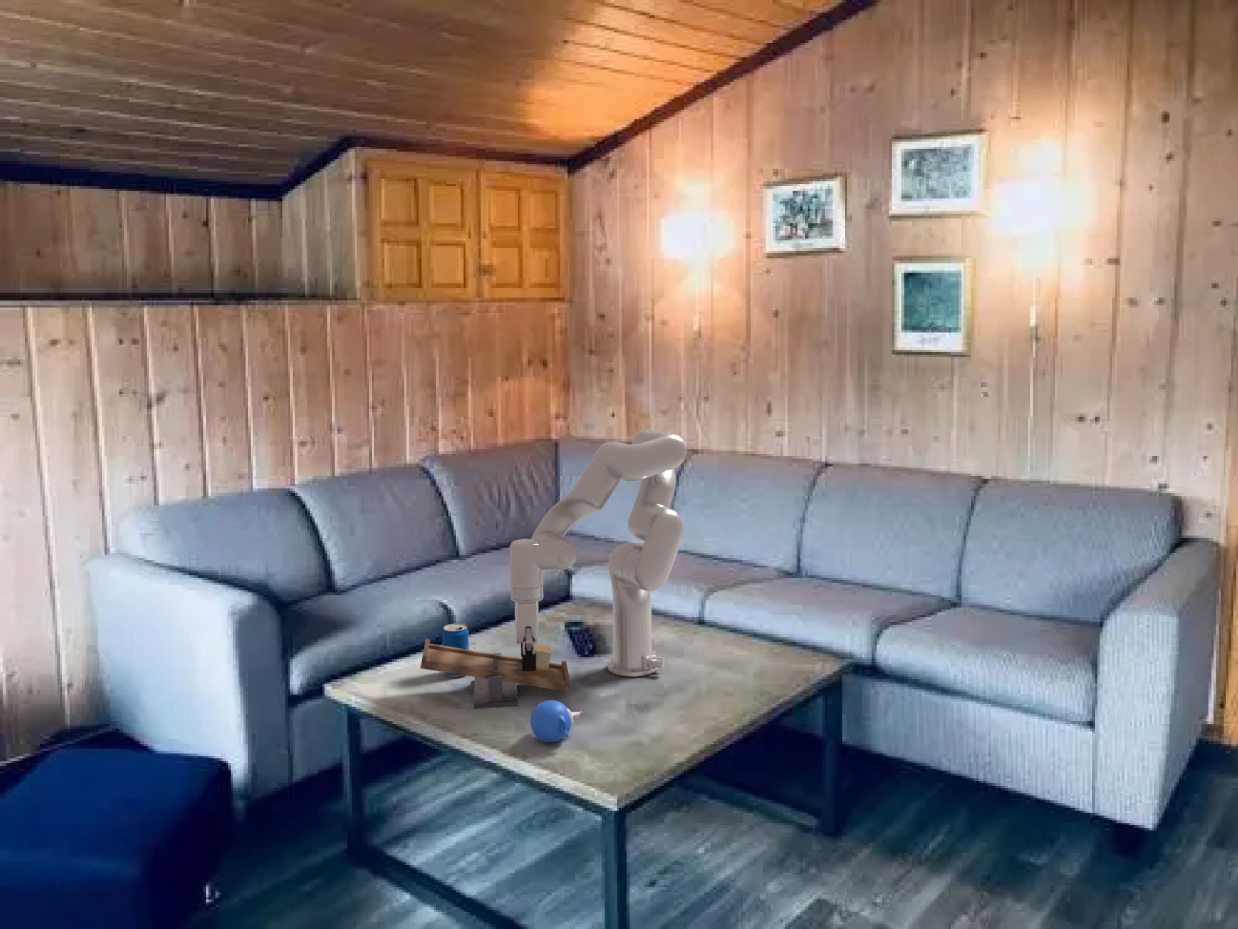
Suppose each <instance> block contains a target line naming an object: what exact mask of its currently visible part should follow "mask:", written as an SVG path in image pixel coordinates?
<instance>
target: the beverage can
mask: <svg viewBox="0 0 1238 929" xmlns="http://www.w3.org/2000/svg"><path fill="white" fill-rule="evenodd" d="M467 627H468V626H467V625H466V624H464V623H450V624H446V625H445V626H443V630H442V632H441V634H442V636H441V637H442V638H441V641H442V642H441V643H442V646H448V647H454V648H460V649H467V650H470V636H469V635H470V634H469V633H470V632H469V631H470V630H469V629H468V628H467ZM443 674H444V675H447V677H450V678H460V677H465V676H466V675H460V674H453V673H447V672H443Z"/></svg>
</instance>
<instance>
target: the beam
mask: <svg viewBox="0 0 1238 929" xmlns="http://www.w3.org/2000/svg"><path fill="white" fill-rule="evenodd" d="M430 641H431V639H428V638H426V639H425V641H424V647H423V652H422V658H421V663H420V667H419V669H421V670H427V671H428V670H429V671H435V672H442V673H444V672H447V673H453V674H460V675H465V676H466V677H474V678H475V677H479V678H485V679H488V676H492V675H502V681H505V682H511V683H517V684H520V685H525V686H532V687H537V688H544V689H551V690H558V691H564V692H567V691H568V689H569V684H570V680H571V678H570V674H569V668H568V664H567V661H565V660H561V662H560V663H561V664H560V663H554V662H550V663H549V667H548V672H547V677H546V678H545V677H539V676H533V675H526V674H525V671H523V670H522V657H516V656H510V655H505V654H504V655H503V654H501V655H498V654H494V653H490V652H485V651H477V650H472V649H471V650H470V649H469V650H467V649H460V648H454V647H448V646H443V645H440V644H434V643H430Z"/></svg>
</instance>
